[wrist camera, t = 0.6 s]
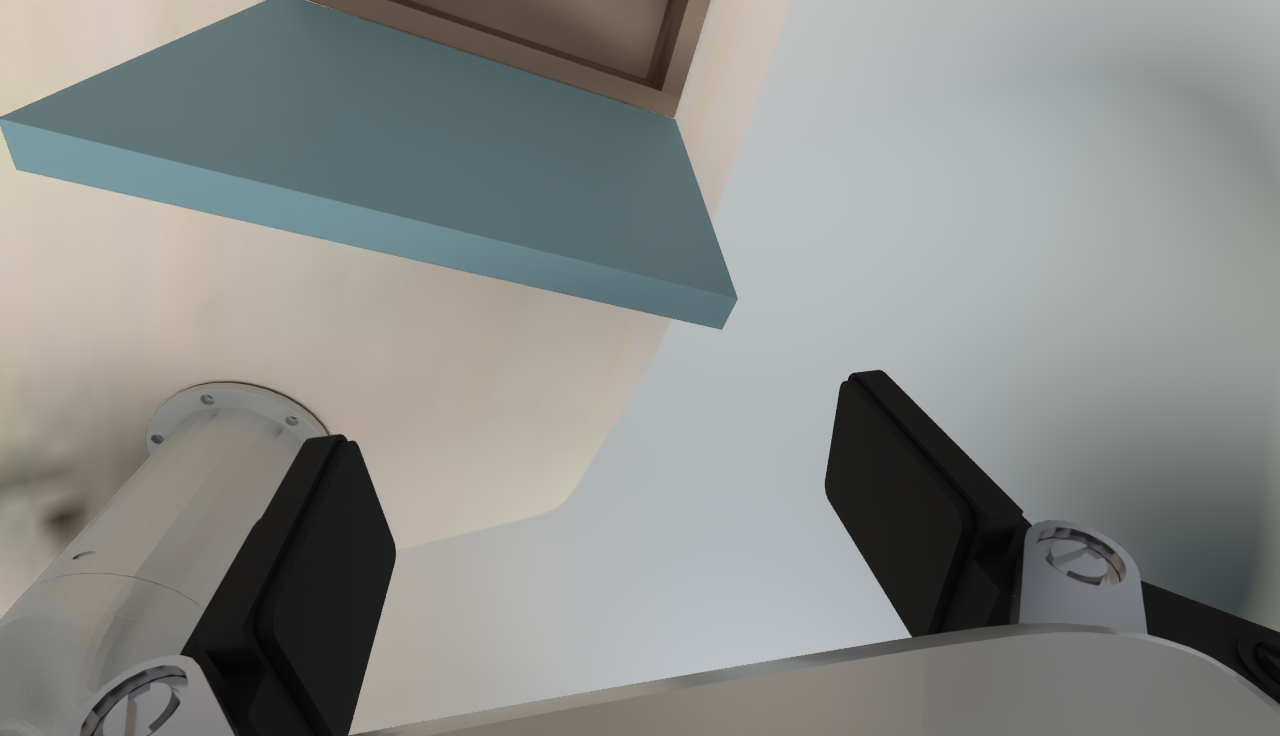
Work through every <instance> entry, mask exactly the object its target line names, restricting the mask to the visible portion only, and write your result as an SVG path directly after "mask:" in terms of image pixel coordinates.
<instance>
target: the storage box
mask: <svg viewBox="0 0 1280 736" xmlns="http://www.w3.org/2000/svg"><path fill="white" fill-rule="evenodd" d="M308 1H312V2H315V3H318V4H321V5H324V6H327V7H330V8H333V9H336V10H339V11H343V12H346V13H349V14H352V15H355V16H358V17H361V18H364V19H367V20H371V21H374V22H377V23H380V24H383V25H386V26H389V27H392V28H395V29H398V30H402V31H405V32H408V33H411V34H414V35H417V36H420V37H423V38H426V39H429V40H433V41H436V42H439V43H442V44H445V45H448V46H451V47H454V48H457V49H460V50H464V51H467V52H470V53H473V54H476V55H479V56H482V57H485V58H488V59H492V60H495V61H498V62H501V63H504V64H507V65H510V66H513V67H516V68H519V69H523V70H526V71H529V72H532V73H535V74H538V75H541V76H544V77H547V78H550V79H554V80H557V81H560V82H563V83H566V84H569V85H572V86H575V87H578V88H581V89H585V90H588V91H591V92H594V93H597V94H600V95H603V96H606V97H609V98H613V99H616V100H619V101H622V102H625V103H628V104H631V105H634V106H637V107H640V108H644V109H647V110H650V111H653V112H656V113H659V114H662V115H665V116H668V117H671V118H674V116H675V113H676V110H677V107H678V103H679V100H680V97H681V94H682V90H683V87H684V84H685V81H686V78H687V74H688V71H689V68H690V65H691V62H692V58H693V55H694V52H695V49H696V45H697V42H698V39H699V36H700V33H701V29H702V26H703V23H704V20H705V16H706V13H707V10H708V7H709V4H710V0H308Z"/></svg>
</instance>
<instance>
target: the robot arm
mask: <svg viewBox="0 0 1280 736" xmlns="http://www.w3.org/2000/svg"><path fill="white" fill-rule="evenodd" d="M146 446H147V449H148V453H149V457H148V458H147V460H146V461H145V462H144V463H143V464H142V465H141V466H140V467H139V468H138V469H137V471H136V472H135V473H134V474H133V475H132V476H131V477H130V478H129V479H128V480H127V481H126V483H125V484H124V485H123V486H122V487H121V488H120V489H119V490H118V491H117V492H116V494H115V495H114V496H113V497H112V498H111V499H110V500H109V501H108V502H107V503H106V505H105V506H104V507H103V508H102V509H101V510H100V511H99V512H98V513H97V514H96V516H95V517H94V518H93V519H92V520H91V521H90V522H89V523H88V524H87V525H86V527H85V528H84V529H83V530H82V531H81V532H80V533H79V534H78V535H77V536H76V538H75V539H74V540H73V541H72V542H71V543H70V544H69V545H68V546H67V547H66V548H65V550H64V551H63V552H62V553H61V554H60V555H59V556H58V557H57V558H56V559H55V561H54V562H53V563H52V564H51V565H50V566H49V567H48V568H47V569H46V570H45V572H44V573H43V574H42V575H41V576H40V577H39V578H38V579H37V580H36V581H35V583H34V584H33V585H32V586H31V587H30V588H29V589H28V590H27V591H26V592H25V593H24V594H23V595H22V596H21V597H20V598H19V599H18V600H17V601H16V603H15V604H14V605H13V606H12V607H11V608H10V609H9V610H8V612H7V613H6V614H5V615H4V616H3V617H2V618H1V620H0V736H348V734H349V731H350V727H351V723H352V720H353V716H354V712H355V709H356V705H357V701H358V698H359V693H360V690H361V686H362V682H363V679H364V675H365V671H366V668H367V664H368V660H369V657H370V653H371V649H372V645H373V642H374V638H375V635H376V631H377V627H378V623H379V619H380V616H381V612H382V609H383V604H384V601H385V598H386V594H387V590H388V586H389V583H390V579H391V575H392V571H393V568H394V564H395V559H396V549H395V543H394V540H393V537H392V535H391V532H390V529H389V527H388V524H387V521H386V518H385V516H384V513H383V510H382V508H381V505H380V502H379V500H378V497H377V494H376V492H375V489H374V486H373V483H372V481H371V478H370V475H369V473H368V470H367V467H366V465H365V462H364V459H363V457H362V454H361V451H360V449H359V446H358V444H357V443H356V442H355V441H347V439H346V437H345V436H344V435H341V434H338V435H330V436H328V434H327V433H326V431H325V429H324V428H323V427H322V425H321V424H320V423H319V422H318V421H317V420H316V419H315V418H314V417H313V416H312V415H311V414H310V413H309V412H307V411H306V410H305V409H304V408H302V407H301V406H300V405H298V404H296V403H294V402H293V401H291V400H289V399H288V398H286V397H284V396H281V395H279V394H276V393H274V392H272V391H269V390H266V389H262V388H259V387H255V386H251V385H245V384H237V383H210V384H205V385H199V386H195V387H192V388H189V389H186V390H184V391H181V392H179V393H178V394H176V395H175V396H173V397H172V398H170V399H168V401H167V402H166V403H165V404H164V405H162V406H161V407H160V408H159V409H158V410H157V412H156V413H155V414H154V416H153V417H152V419H151V420H150V422H149V426H148V429H147V432H146ZM825 491H826V495H827V498H828V500H829V502H830V503H831V505H832V507H833V508H834V510H835V512H836V513H837V515H838V516H839V518H840V520H841V521H842V523H843V525H844V526H845V528H846V530H847V531H848V533H849V535H850V536H851V537H852V539H853V541H854V543H855V544H856V546H857V548H858V549H859V551H860V552H861V554H862V556H863V558H864V559H865V561H866V562H867V564H868V566H869V567H870V569H871V571H872V572H873V574H874V576H875V577H876V579H877V580H878V582H879V584H880V585H881V587H882V589H883V590H884V592H885V594H886V595H887V597H888V599H889V600H890V602H891V603H892V605H893V607H894V608H895V610H896V612H897V613H898V615H899V617H900V618H901V620H902V622H903V623H904V625H905V626H906V628H907V630H908V631H909V633H910V635H911V636H912V637H913V638H906V639H899V640H893V641H887V642H880V643H875V644H868V645H863V646H857V647H851V648H844V649H838V650H833V651H826V652H821V653H814V654H808V655H802V656H796V657H790V658H784V659H779V660H772V661H766V662H760V663H754V664H748V665H742V666H736V667H731V668H725V669H719V670H713V671H707V672H701V673H696V674H690V675H684V676H678V677H672V678H666V679H661V680H655V681H649V682H643V683H637V684H632V685H626V686H620V687H614V688H608V689H602V690H597V691H591V692H585V693H579V694H574V695H568V696H562V697H557V698H551V699H545V700H540V701H534V702H529V703H523V704H517V705H512V706H506V707H501V708H495V709H489V710H483V711H478V712H472V713H467V714H462V715H456V716H449V717H444V718H438V719H433V720H427V721H421V722H416V723H411V724H406V725H401V726H396V727H391V728H386V729H380V730H375V731H370V732H365V733H360V734H354V735H349V736H1280V632H1277V631H1274V630H1272V629H1269V628H1266V627H1263V626H1261V625H1258V624H1256V623H1253V622H1250V621H1248V620H1245V619H1242V618H1240V617H1237V616H1234V615H1231V614H1229V613H1226V612H1223V611H1221V610H1218V609H1216V608H1213V607H1210V606H1207V605H1204V604H1202V603H1199V602H1197V601H1194V600H1191V599H1188V598H1186V597H1183V596H1181V595H1177V594H1175V593H1173V592H1170V591H1167V590H1164V589H1162V588H1159V587H1156V586H1154V585H1151V584H1149V583H1146V582H1143V581H1140V574H1139V571H1138V569H1137V566H1136V564H1135V562H1134V561H1133V559H1132V558H1131V557H1130V556H1129V554H1128V553H1127V552H1126V551H1125V550H1124V549H1123V548H1122V547H1120V546H1119V545H1118V544H1117V543H1115V542H1114V541H1113V540H1111V539H1110V538H1108V537H1106V536H1104V535H1102V534H1101V533H1099V532H1097V531H1095V530H1093V529H1090V528H1088V527H1085V526H1082V525H1080V524H1076V523H1071V522H1067V521H1058V520H1047V521H1043V522H1038V523H1036V524H1034V525H1033V526H1032V525H1031V524H1030V523H1029V522H1028V521H1027V520H1026V519H1025V518H1024V517H1023V516H1022V513H1023V510H1022V509H1021V508H1019V506H1018V505H1016V503H1015V502H1014V501H1013V500H1012V499H1011V498H1010V497H1009V496H1008V495H1007V494H1006V493H1005V492H1003V490H1002V489H1001V488H1000V487H999V486H998V485H997V484H996V483H995V482H993V480H992V479H991V478H990V477H989V476H988V475H987V474H986V473H985V472H984V471H983V470H982V469H981V468H979V466H978V465H977V464H975V462H974V461H973V460H972V459H971V458H969V456H968V455H967V454H966V453H965V452H964V451H963V450H962V449H961V448H960V447H959V446H958V445H957V444H956V443H955V442H954V441H953V440H952V439H951V438H950V437H949V436H948V435H947V434H946V433H945V432H944V431H943V430H942V429H941V428H940V427H939V426H938V425H937V424H936V423H935V422H934V421H933V420H932V419H931V418H930V417H929V416H928V415H927V414H926V413H925V412H924V411H923V410H922V409H921V408H920V407H919V406H918V405H917V404H916V403H915V402H914V401H913V400H912V399H911V398H910V397H909V396H908V395H907V394H906V393H905V392H904V391H903V390H902V389H901V388H900V387H899V386H898V385H897V384H896V383H895V382H894V381H893V380H892V379H891V378H890V377H889V376H888V375H887V374H886V373H885V372H883V371H882V370H874V371H865V372H857V373H852V374H851V375H850V376H849V378H848V381H844V382H842V384H841V386H840V390H839V397H838V403H837V409H836V416H835V421H834V428H833V434H832V440H831V447H830V453H829V459H828V465H827V472H826V479H825Z"/></svg>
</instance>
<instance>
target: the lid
mask: <svg viewBox="0 0 1280 736" xmlns="http://www.w3.org/2000/svg"><path fill="white" fill-rule="evenodd" d="M0 126H1V129H2V132H3V135H4V137H5V140H6V143H7V145H8V148H9V151H10V154H11V156H12V159H13V162H14V164H15V167H16V169H17V170H21V171H25V172H30V173H34V174H39V175H43V176H47V177H52V178H56V179H61V180H65V181H69V182H74V183H78V184H83V185H87V186H91V187H96V188H100V189H105V190H109V191H114V192H118V193H122V194H127V195H131V196H136V197H140V198H144V199H149V200H153V201H158V202H162V203H166V204H171V205H175V206H180V207H184V208H188V209H193V210H197V211H202V212H206V213H210V214H215V215H219V216H224V217H228V218H232V219H237V220H241V221H246V222H250V223H254V224H259V225H263V226H268V227H272V228H276V229H281V230H285V231H290V232H294V233H298V234H303V235H307V236H312V237H316V238H320V239H325V240H329V241H334V242H338V243H342V244H347V245H351V246H356V247H360V248H365V249H369V250H373V251H378V252H382V253H387V254H391V255H395V256H400V257H404V258H409V259H413V260H417V261H422V262H426V263H431V264H435V265H439V266H444V267H448V268H453V269H457V270H461V271H466V272H470V273H475V274H479V275H483V276H488V277H492V278H497V279H501V280H505V281H510V282H514V283H519V284H523V285H527V286H532V287H536V288H541V289H545V290H549V291H554V292H558V293H563V294H567V295H571V296H576V297H580V298H585V299H589V300H594V301H598V302H602V303H607V304H611V305H616V306H620V307H624V308H629V309H633V310H638V311H642V312H646V313H651V314H655V315H660V316H664V317H668V318H673V319H677V320H682V321H686V322H690V323H695V324H699V325H704V326H708V327H713V328H717V329H721V330H722V328H723V326H724V324H725V323H726V321H727V318H728V317H729V315H730V313H731V311H732V309H733V307H734V305H735V303H736V301H737V299H738V298H737V295H736V292H735V290H734V287H733V284H732V281H731V278H730V275H729V272H728V269H727V267H726V264H725V261H724V258H723V255H722V252H721V249H720V246H719V244H718V241H717V238H716V235H715V232H714V229H713V226H712V223H711V221H710V218H709V215H708V212H707V209H706V206H705V203H704V200H703V198H702V195H701V192H700V189H699V186H698V183H697V180H696V177H695V175H694V172H693V169H692V166H691V163H690V160H689V157H688V154H687V152H686V149H685V146H684V143H683V140H682V137H681V134H680V131H679V129H678V126H677V123H676V120H675V119H672V118H669V117H666V116H663V115H660V114H657V113H653V112H650V111H647V110H644V109H641V108H638V107H635V106H632V105H629V104H626V103H622V102H619V101H616V100H613V99H610V98H607V97H604V96H601V95H598V94H594V93H591V92H588V91H585V90H582V89H579V88H576V87H573V86H570V85H567V84H563V83H560V82H557V81H554V80H551V79H548V78H545V77H542V76H539V75H535V74H532V73H529V72H526V71H523V70H520V69H517V68H514V67H511V66H507V65H504V64H501V63H498V62H495V61H492V60H489V59H486V58H483V57H480V56H476V55H473V54H470V53H467V52H464V51H461V50H458V49H455V48H452V47H448V46H445V45H442V44H439V43H436V42H433V41H430V40H427V39H424V38H421V37H417V36H414V35H411V34H408V33H405V32H402V31H399V30H396V29H393V28H389V27H386V26H383V25H380V24H377V23H374V22H371V21H368V20H365V19H361V18H358V17H355V16H352V15H349V14H346V13H343V12H340V11H337V10H334V9H330V8H327V7H324V6H321V5H318V4H315V3H312V2H309V1H306V0H266V1H264V2H261V3H259V4H257V5H254V6H252V7H250V8H248V9H245V10H243V11H241V12H238V13H236V14H234V15H232V16H229V17H227V18H225V19H223V20H220V21H218V22H216V23H213V24H211V25H209V26H207V27H204V28H202V29H200V30H197V31H195V32H193V33H191V34H188V35H186V36H184V37H182V38H179V39H177V40H175V41H172V42H170V43H168V44H166V45H163V46H161V47H159V48H156V49H154V50H152V51H150V52H147V53H145V54H143V55H141V56H138V57H136V58H134V59H131V60H129V61H127V62H125V63H122V64H120V65H118V66H115V67H113V68H111V69H109V70H106V71H104V72H102V73H99V74H97V75H95V76H93V77H90V78H88V79H86V80H84V81H81V82H79V83H77V84H74V85H72V86H70V87H68V88H65V89H63V90H61V91H58V92H56V93H54V94H52V95H49V96H47V97H45V98H43V99H40V100H38V101H36V102H33V103H31V104H29V105H27V106H24V107H22V108H20V109H17V110H15V111H13V112H11V113H8V114H6V115H4V116H1V117H0Z"/></svg>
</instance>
